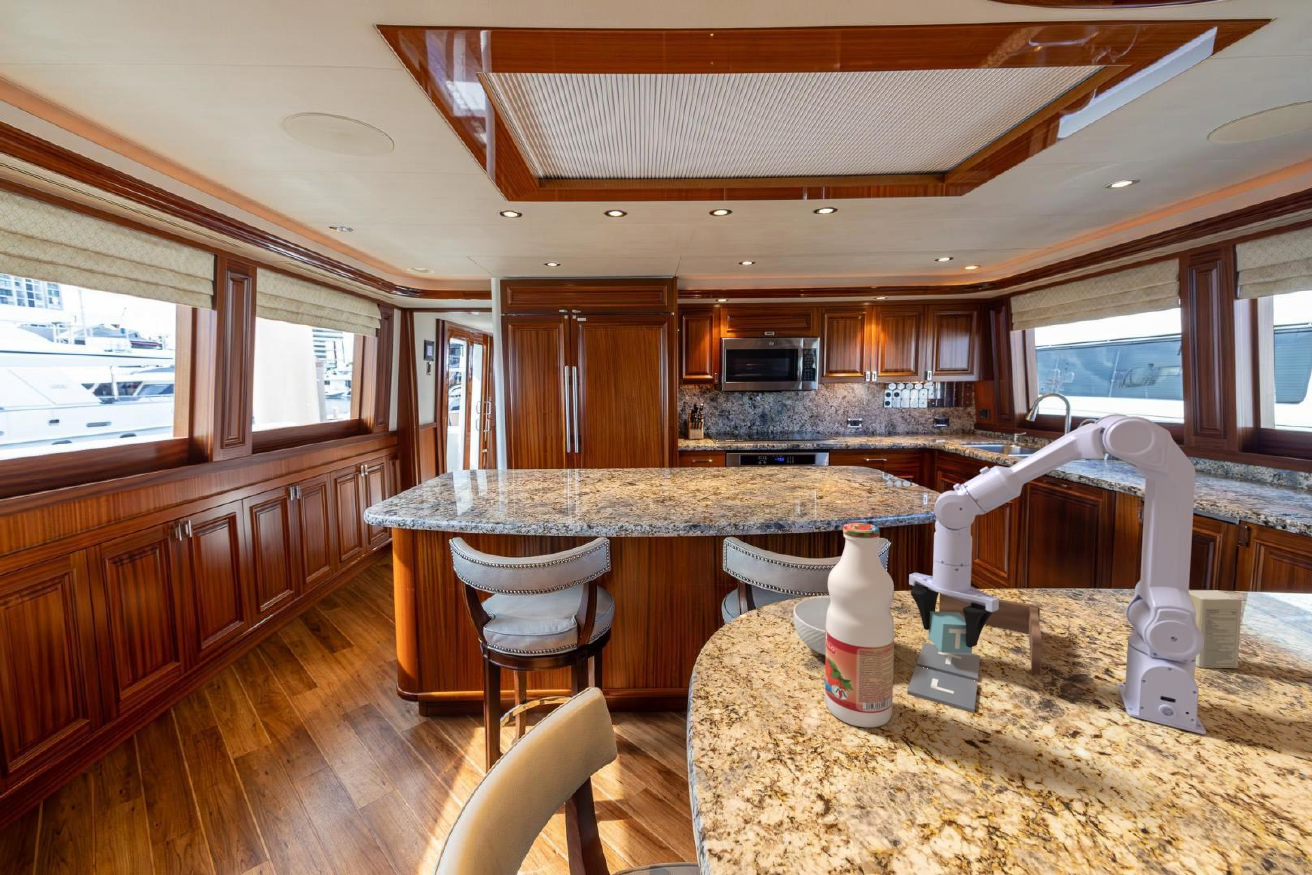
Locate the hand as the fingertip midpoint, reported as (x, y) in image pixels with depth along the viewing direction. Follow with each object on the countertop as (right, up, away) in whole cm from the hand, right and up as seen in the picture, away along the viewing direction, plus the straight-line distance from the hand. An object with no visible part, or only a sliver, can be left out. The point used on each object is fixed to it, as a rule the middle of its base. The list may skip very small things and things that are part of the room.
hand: (949, 636), depth 90 cm
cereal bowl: (-17, -5, +5) cm, 19 cm away
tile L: (-6, -5, -8) cm, 11 cm away
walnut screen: (+11, -4, +7) cm, 14 cm away
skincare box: (+44, -4, -1) cm, 44 cm away
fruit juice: (-21, -6, -13) cm, 25 cm away
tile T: (0, -5, 0) cm, 5 cm away
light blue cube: (0, -2, 0) cm, 2 cm away
